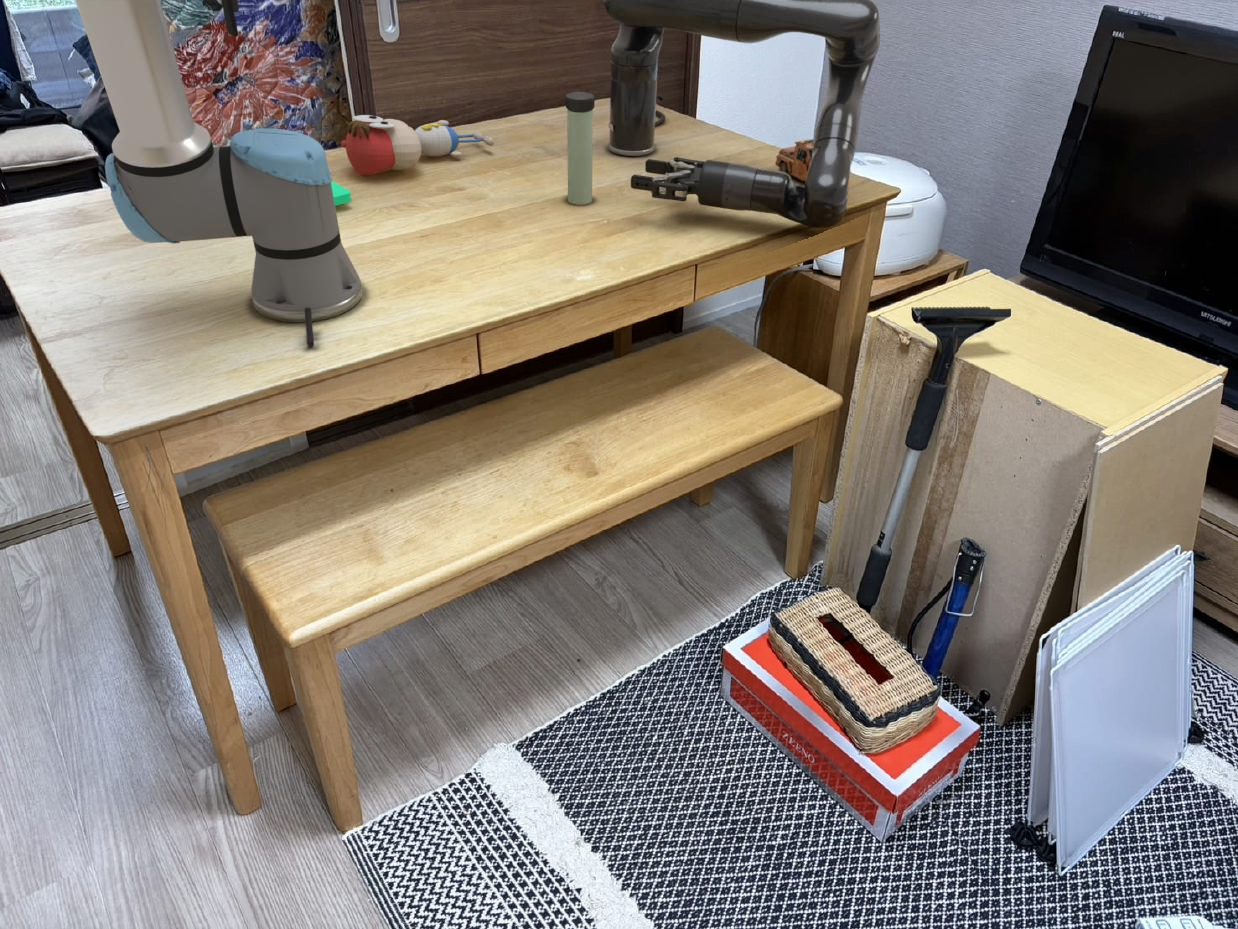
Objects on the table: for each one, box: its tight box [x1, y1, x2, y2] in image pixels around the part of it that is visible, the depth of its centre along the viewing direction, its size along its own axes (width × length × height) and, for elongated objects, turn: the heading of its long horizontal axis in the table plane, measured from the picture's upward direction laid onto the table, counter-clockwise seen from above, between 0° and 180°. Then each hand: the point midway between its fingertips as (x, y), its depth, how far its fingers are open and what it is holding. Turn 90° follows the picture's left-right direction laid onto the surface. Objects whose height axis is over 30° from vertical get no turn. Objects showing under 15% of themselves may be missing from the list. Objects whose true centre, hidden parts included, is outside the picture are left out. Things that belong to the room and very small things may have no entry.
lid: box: [565, 91, 596, 112], centre depth 158 cm, size 5×5×2 cm
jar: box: [566, 108, 594, 206], centre depth 163 cm, size 4×4×18 cm
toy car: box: [774, 138, 814, 183], centre depth 178 cm, size 6×12×7 cm, turn 39°
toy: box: [340, 114, 495, 176], centre depth 180 cm, size 18×10×30 cm
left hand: (191, 39), depth 148 cm, fingers open, 13 cm apart
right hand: (638, 173), depth 162 cm, fingers open, 8 cm apart
